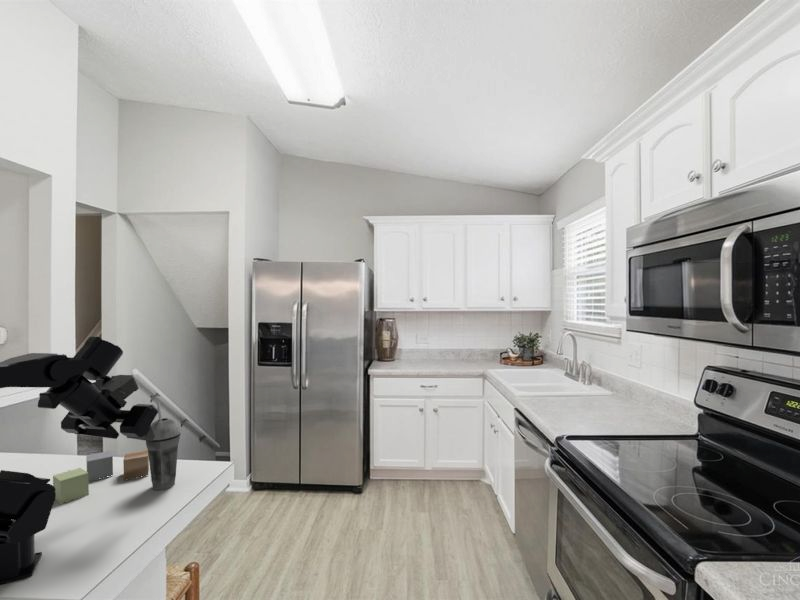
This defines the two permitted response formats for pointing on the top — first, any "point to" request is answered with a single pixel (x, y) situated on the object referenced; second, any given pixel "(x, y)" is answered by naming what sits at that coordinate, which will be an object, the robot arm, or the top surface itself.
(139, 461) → the walnut block
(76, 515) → the top surface
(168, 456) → the beverage cup
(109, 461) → the charcoal block
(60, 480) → the olive block
